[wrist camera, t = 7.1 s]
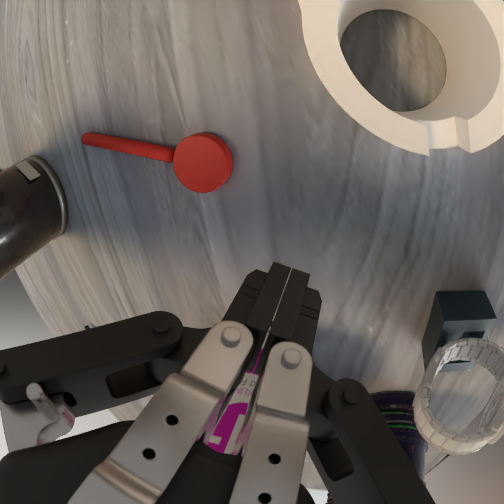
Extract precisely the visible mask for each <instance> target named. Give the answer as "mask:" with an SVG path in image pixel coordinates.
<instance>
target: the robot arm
mask: <svg viewBox="0 0 504 504" xmlns="http://www.w3.org/2000/svg"><path fill="white" fill-rule="evenodd" d="M66 224H67V206H66V201H65V197H64V193H63V190H62V187H61V185H60V183H59V180H58V178H57V177H56V175H55V173H54V171H53V170H52V169H51V167H50V166H49V165H48V164H47V163H46V162H45V161H44V160H43V159H41V158H39V157H36V156H31V157H28V158H26V159H24V160H23V161H22V162H20V163H17V164H15V165H13V166H11V167H9V168H7V169H5V170H3V171H1V172H0V281H1V280H2V279H3V278H4V277H5V276H6V275H8V274H9V273H10V272H11V271H12V270H14V269H15V268H16V267H17V266H19V265H20V264H21V263H22V262H24V261H25V260H26V259H28V258H29V257H30V256H31V255H33V254H34V253H35V252H37V251H38V250H39V249H41V248H42V247H43V246H45V245H46V244H47V243H49V242H50V241H51V240H53V239H56V238H57V237H59V236H60V235H61V234H62V233H63V232H64V230H65V228H66ZM290 269H291V268H290V267H288V266H285V265H282V264H279V263H276V262H273V264H272V266H271V268H270V270H269V272H268V273H266V272H263V271H260V270H257V269H256V270H255V271H253V272H251V273H250V274H248V275H247V276H246V278H245V280H244V282H243V284H242V285H241V287H240V289H239V291H238V293H237V294H236V296H235V298H234V300H233V302H232V303H231V305H230V307H229V309H228V311H227V312H226V314H225V316H224V318H223V319H222V321H221V322H218V323H216V324H214V325H213V326H212V327H210V328H206V329H197V328H189V327H183V325H182V323H181V321H180V319H179V318H178V317H177V316H175V315H174V314H172V313H169V312H165V311H155V312H151V313H147V314H144V315H140V316H136V317H133V318H129V319H125V320H121V321H118V322H114V323H110V324H106V325H103V326H99V327H95V328H91V329H87V330H83V331H79V332H75V333H72V334H68V335H64V336H60V337H55V338H51V339H47V340H43V341H39V342H35V343H31V344H27V345H22V346H18V347H13V348H9V349H5V350H0V410H1V416H2V422H3V427H4V433H5V437H6V442H7V446H8V450H9V453H8V454H7V455H6V456H4V457H3V458H2V459H1V461H0V504H315V503H314V500H313V498H312V497H311V495H310V493H309V492H308V491H307V489H306V488H305V487H304V486H303V485H302V484H301V483H300V482H301V477H302V471H303V466H304V460H305V455H306V449H307V451H308V453H309V455H310V457H311V459H312V461H313V463H314V465H315V467H316V469H317V471H318V473H319V475H320V476H321V478H322V480H323V482H324V484H325V486H326V488H327V490H328V492H329V494H330V496H331V498H332V499H333V501H334V503H335V504H435V502H434V500H433V499H432V497H431V495H430V493H429V492H428V490H427V488H426V487H425V485H424V483H423V481H422V480H421V478H420V476H419V475H418V473H417V471H416V470H415V468H414V466H413V465H412V463H411V461H410V460H409V458H408V456H407V455H406V453H405V451H404V450H403V448H402V446H401V445H400V443H399V441H398V440H397V438H396V436H395V435H394V433H393V432H392V430H391V428H390V427H389V425H388V423H387V422H386V420H385V419H384V417H383V415H382V414H381V412H380V410H379V409H378V407H377V406H376V404H375V402H374V401H373V399H372V398H371V396H370V394H369V393H368V391H367V390H366V388H365V387H364V386H363V385H362V384H360V383H359V382H357V381H355V380H352V379H340V380H338V381H336V382H335V381H334V380H332V379H331V378H329V377H328V376H326V375H325V374H323V373H322V372H321V371H320V370H319V369H318V368H317V367H316V365H315V364H314V362H313V359H312V348H313V343H314V338H315V334H316V329H317V324H318V319H319V314H320V313H319V312H320V309H321V303H322V300H321V297H320V294H319V291H317V290H314V289H311V288H309V287H307V284H308V281H309V277H310V274H308V273H305V272H302V271H299V270H296V269H293V268H292V271H291V274H290V277H289V280H288V283H287V285H286V288H285V291H284V294H283V296H282V299H281V302H280V305H279V307H278V310H277V313H276V316H275V318H274V321H273V324H272V326H271V329H270V332H269V334H268V337H267V340H266V342H265V345H264V348H263V350H262V353H261V356H260V358H259V361H258V363H257V366H256V368H255V371H254V373H255V374H258V375H259V376H258V379H257V382H256V384H255V387H254V389H253V391H252V394H251V397H250V401H249V404H248V407H247V411H246V414H245V418H244V421H243V424H242V428H241V431H240V434H239V437H238V440H237V443H236V445H235V448H234V451H233V453H232V454H226V453H220V452H217V451H215V450H214V449H212V448H211V447H209V446H208V445H207V444H208V443H209V441H210V439H211V437H212V434H213V432H214V430H215V428H216V426H217V425H218V423H219V421H220V419H221V417H222V416H223V414H224V412H225V410H226V408H227V407H228V405H229V403H230V401H231V399H232V397H233V396H234V394H235V392H236V390H237V388H238V386H239V385H240V384H241V382H242V380H243V378H244V375H245V373H246V371H249V372H252V371H253V368H254V366H255V363H256V361H257V358H258V356H259V353H260V351H261V348H262V345H263V343H264V340H265V338H266V335H267V332H268V330H269V327H270V324H271V322H272V319H273V316H274V314H275V311H276V308H277V306H278V303H279V300H280V297H281V295H282V292H283V289H284V286H285V283H286V281H287V278H288V275H289V272H290ZM152 394H154V396H153V397H152V398H151V400H150V401H149V402H148V404H147V405H146V407H145V408H144V409H143V411H142V412H141V413H140V415H139V416H138V417H137V419H136V420H129V421H121V422H117V423H113V424H110V425H107V426H104V427H101V428H98V429H95V430H91V431H88V432H85V433H82V434H78V435H75V436H72V437H68V438H64V439H61V440H57V441H55V440H56V439H57V438H58V437H60V436H63V435H65V434H67V433H68V432H69V431H70V430H71V429H72V427H73V425H74V421H75V417H79V416H83V415H87V414H91V413H94V412H98V411H101V410H104V409H108V408H112V407H115V406H118V405H122V404H125V403H128V402H131V401H134V400H137V399H140V398H143V397H146V396H149V395H152Z"/></svg>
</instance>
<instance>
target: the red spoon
mask: <svg viewBox="0 0 504 504" xmlns="http://www.w3.org/2000/svg"><path fill="white" fill-rule="evenodd" d="M81 141H82V143H83V144H85V145H90V146H95V147H100V148H105V149H110V150H115V151H120V152H125V153H129V154H134V155H138V156H143V157H147V158H152V159H156V160H160V161H165V162H172V161H173V167H174V171H175V174H176V176H177V178H178V179H179V181H180V182H181V183H182V184H183V185H184V186H185V187H187V188H188V189H190V190H192V191H195V192H199V193H207V192H211V191H214V190H216V189H217V188H219V187H220V186H221V185H222V184H223V183H224V182H225V181H226V180H227V179H228V178H229V176H230V174H231V171H232V165H233V161H232V155H231V152H230V150H229V148H228V146H227V145H226V144H225V142H224V141H223V140H221V139H220V138H219V137H217V136H215V135H213V134H210V133H198V134H194V135H192V136H189V137H187V138H185V139H184V140H182V141H181V142H180V143H179V144H178V146H177V147H176V149H175V150H174V149H173V148H170V147H165V146H161V145H156V144H151V143H146V142H141V141H135V140H130V139H125V138H119V137H113V136H107V135H101V134H95V133H84V134H83V135H82V137H81Z"/></svg>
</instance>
